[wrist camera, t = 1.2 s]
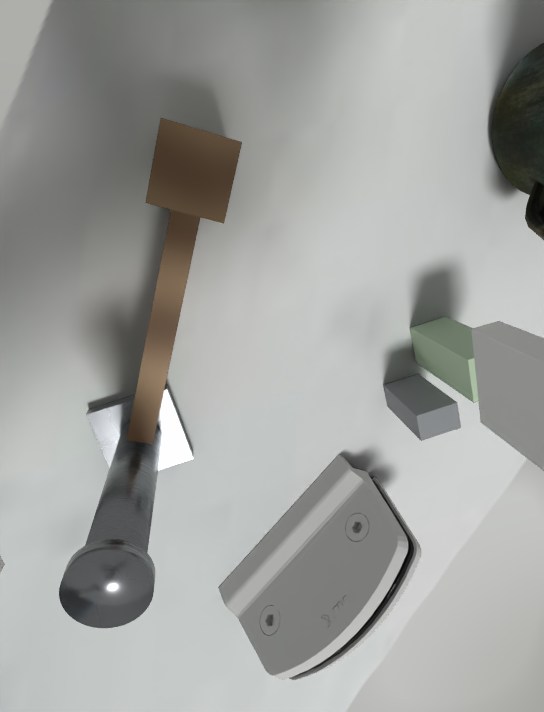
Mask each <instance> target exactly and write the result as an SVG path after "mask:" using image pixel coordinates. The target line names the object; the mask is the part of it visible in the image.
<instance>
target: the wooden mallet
mask: <svg viewBox="0 0 544 712" xmlns="http://www.w3.org/2000/svg"><path fill="white" fill-rule="evenodd" d="M241 144H242V142H239V141H236V140H232V139H229V138H226V137H223V136H219V135H216V134H213V133H209V132H206V131H203V130H199V129H196V128H193V127H190V126H186V125H183V124H180V123H176V122H173V121H170V120H166V119H163V118H161V119H160V125H159V130H158V136H157V141H156V147H155V153H154V158H153V164H152V169H151V175H150V180H149V186H148V192H147V197H146V203H148V204H152V205H156V206H159V207H163V208H167V209H171V212H170V217H169V223H168V228H167V233H166V238H165V243H164V248H163V254H162V259H161V264H160V269H159V274H158V279H157V285H156V290H155V295H154V300H153V305H152V310H151V316H150V321H149V326H148V331H147V336H146V341H145V347H144V352H143V357H142V362H141V367H140V373H139V378H138V383H137V388H136V393H135V398H134V404H133V409H132V414H131V419H130V424H129V429H128V435H127V440H129V441H136V442H142V443H149V444H153V441H154V436H155V431H156V426H157V422H158V417H159V412H160V407H161V403H162V398H163V393H164V388H165V383H166V379H167V374H168V369H169V364H170V360H171V355H172V350H173V345H174V340H175V336H176V331H177V326H178V321H179V317H180V312H181V307H182V302H183V297H184V293H185V288H186V283H187V278H188V274H189V269H190V264H191V259H192V254H193V250H194V245H195V240H196V235H197V231H198V226H199V221H200V217H201V218H205V219H209V220H213V221H217V222H220V223H224V221H225V216H226V212H227V207H228V203H229V198H230V194H231V189H232V185H233V180H234V176H235V171H236V167H237V162H238V158H239V153H240V149H241Z"/></svg>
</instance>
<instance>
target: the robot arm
mask: <svg viewBox="0 0 544 712" xmlns="http://www.w3.org/2000/svg"><path fill="white" fill-rule="evenodd" d="M471 331H472V341H473V351H474V360H475V370H476V380H477V390H478V400H479V410H480V420H481V423H482V424H484V425H485V426H486V427H487V428H489V429H490V430H491V431H493V432H494V433H495V434H496V435H498V436H499V437H500V438H502V439H503V440H504V441H506V442H507V443H508V444H509V445H511V446H512V447H513V448H515V449H516V450H517V451H519V452H520V453H521V454H522V455H524V456H525V457H526V458H528V459H529V460H530V461H532V462H533V463H534V464H535V465H537V466H538V467H539V468H541V469H542V470H543V471H544V338H541V337H539V336H536V335H534V334H531V333H529V332H526V331H523V330H521V329H518V328H516V327H513V326H511V325H508V324H505V323H503V322H500V321H497V322H494V323H490V324H487V325H483V326H480V327H476V328H473V329H471ZM4 565H5V564H4V562H3V560H2V558H1V556H0V572H1V570H2V569H3V567H4Z"/></svg>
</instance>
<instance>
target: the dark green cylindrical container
mask: <svg viewBox="0 0 544 712" xmlns="http://www.w3.org/2000/svg"><path fill="white" fill-rule="evenodd" d="M492 138H493V147H494V151H495V156H496V159H497V161H498V163H499V166H500V168H501V170H502V172H503V173H504V175H505V176H506V178H507V179H508V180H509V181H510V182H511V183H512V185H514V186H515V187H516V188H518V189H519V190H520V191H522V192H524V193H527V194H529V195H530V197H529V200H528V203H527V207H526V215H525V219H526V222H527V224H528V227H529V228H530V229H531V230H533V231H534V232H535V233H536V234H537V235H538V236H540V237H541V238H542V239H543V240H544V43H543V44H541V45H539V46H538V47H536V48H535V49H534V50H532V51H531V52H530V53H528V54H527V55H526V56H525V57H524V58H523V59H522V60H521V61H520V62H519V64H518V65H517V66H516V68H515V69H514V70H513V71H512V73H511V74H510V76H509V78H508V79H507V81H506V83H505V85H504V87H503V89H502V91H501V94H500V96H499V99H498V102H497V106H496V109H495V113H494V119H493V130H492Z"/></svg>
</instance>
